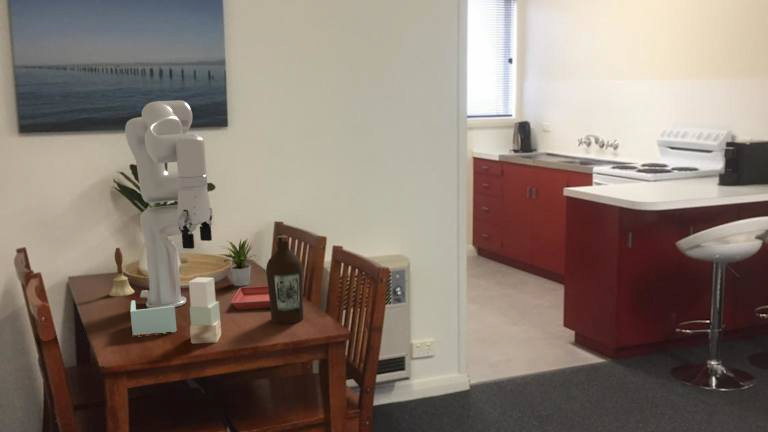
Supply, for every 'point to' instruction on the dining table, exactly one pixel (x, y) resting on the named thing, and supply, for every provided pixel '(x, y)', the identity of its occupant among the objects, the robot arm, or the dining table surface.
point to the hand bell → (120, 278)
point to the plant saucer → (252, 298)
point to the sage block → (205, 314)
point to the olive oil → (285, 284)
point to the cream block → (202, 292)
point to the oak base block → (205, 333)
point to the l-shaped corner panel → (153, 320)
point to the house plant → (239, 263)
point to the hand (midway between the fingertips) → (197, 244)
